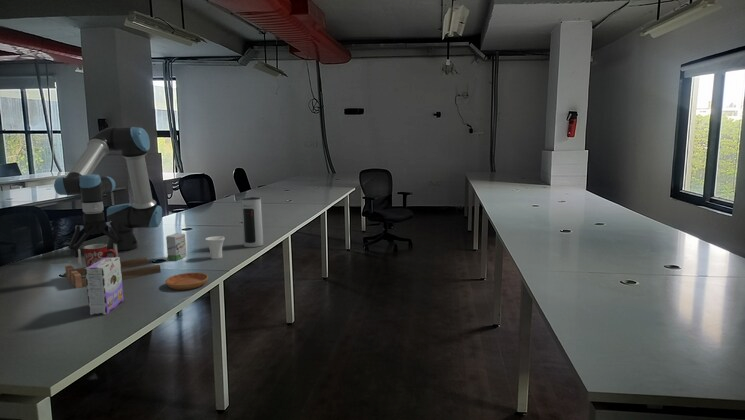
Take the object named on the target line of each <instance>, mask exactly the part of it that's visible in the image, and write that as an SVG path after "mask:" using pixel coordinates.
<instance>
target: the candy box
mask: <svg viewBox="0 0 745 420" xmlns="http://www.w3.org/2000/svg"><path fill="white" fill-rule="evenodd" d="M120 261H121V258H120V256H118V257H114V256H113V257H107V258H103V259H101V260H99V261H98V262H96V263H94V264H92V265H90V266H89V267H87V268H85V273H86V275H85V278H86V283H87V286H86V291H87V292H86V293H87V301H88V311H89V316H95V315H96V316H97V315H98V316H104V315H108V314H110V312H112V311H113V310H114V309H115V308H116V307H118V306H119V305H120V304H121V303H122V302H123V301H125V297H124V288H123V287H124V286H123V279H122V274H121V271H122V269H121V264H120Z"/></svg>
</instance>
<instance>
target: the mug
mask: <svg viewBox="0 0 745 420" xmlns="http://www.w3.org/2000/svg"><path fill="white" fill-rule="evenodd" d="M82 250H83V257H84V260H85V267H89V266H90V265H92V264H94V263H96V262H98V261H99V260H101V259H103V258H108V255H109V253H110V252H111V253H112V255H113V257H117V255H116V252H115V251H114V250H112V249H109V250H107V244H106V243H95V244H88V245H85V246H82Z"/></svg>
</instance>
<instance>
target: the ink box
mask: <svg viewBox="0 0 745 420" xmlns="http://www.w3.org/2000/svg"><path fill="white" fill-rule="evenodd" d="M165 240H166V250H167V261H174V262H175V261H176V262H178V261H180V260H182V259H184V258H186V257H187V256H188V255H187V243H186V240H187V239H186V234H185V233H179V232H177V233H173V234H172V233H171V234H170V235H167V236H166V238H165Z"/></svg>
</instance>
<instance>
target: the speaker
mask: <svg viewBox="0 0 745 420" xmlns="http://www.w3.org/2000/svg"><path fill="white" fill-rule="evenodd" d="M240 202H241V219H242V238H243V246H244V247H245V248H260V247H262V246H264V233H263V232H264V231H263V214H262V198H261V197H253V196H252V197H245V198H241V201H240Z"/></svg>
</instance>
